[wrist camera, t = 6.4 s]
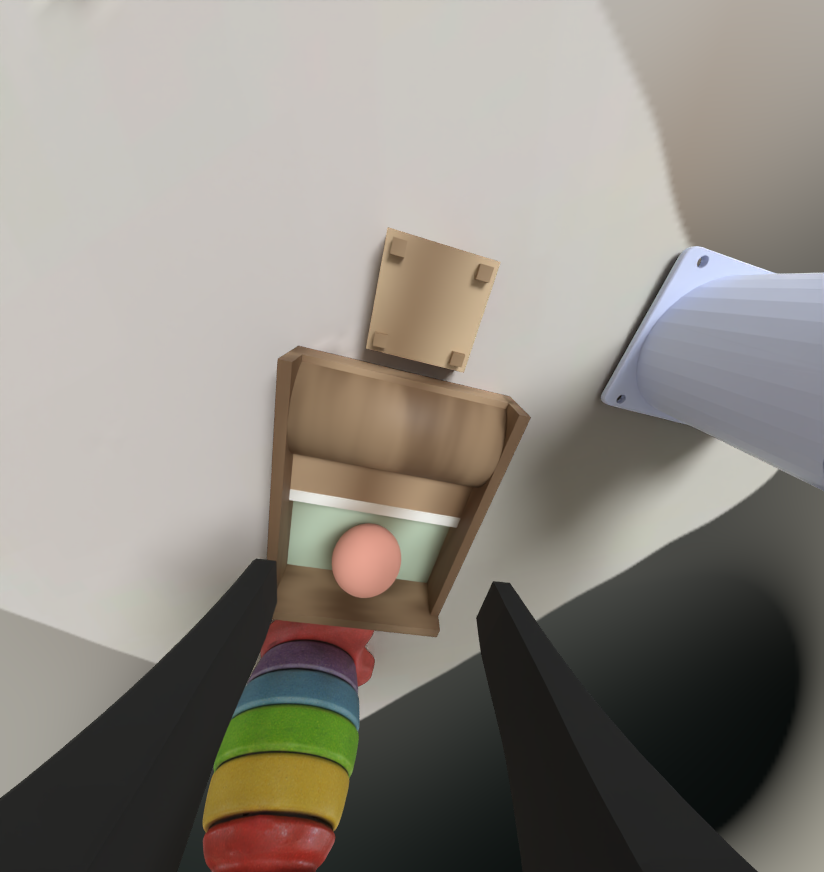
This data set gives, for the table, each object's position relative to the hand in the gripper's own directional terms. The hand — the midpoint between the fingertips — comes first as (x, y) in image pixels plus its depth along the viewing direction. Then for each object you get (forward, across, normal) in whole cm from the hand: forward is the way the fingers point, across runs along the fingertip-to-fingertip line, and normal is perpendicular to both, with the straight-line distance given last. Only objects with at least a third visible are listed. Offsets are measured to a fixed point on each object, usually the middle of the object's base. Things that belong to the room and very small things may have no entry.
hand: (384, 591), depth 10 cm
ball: (+7, 0, +7) cm, 10 cm away
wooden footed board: (+10, 0, -8) cm, 13 cm away
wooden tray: (+13, 0, +3) cm, 13 cm away
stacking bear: (+10, +3, +21) cm, 23 cm away
